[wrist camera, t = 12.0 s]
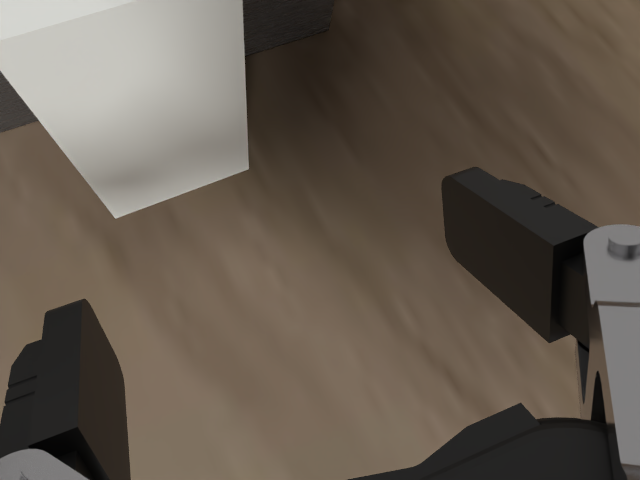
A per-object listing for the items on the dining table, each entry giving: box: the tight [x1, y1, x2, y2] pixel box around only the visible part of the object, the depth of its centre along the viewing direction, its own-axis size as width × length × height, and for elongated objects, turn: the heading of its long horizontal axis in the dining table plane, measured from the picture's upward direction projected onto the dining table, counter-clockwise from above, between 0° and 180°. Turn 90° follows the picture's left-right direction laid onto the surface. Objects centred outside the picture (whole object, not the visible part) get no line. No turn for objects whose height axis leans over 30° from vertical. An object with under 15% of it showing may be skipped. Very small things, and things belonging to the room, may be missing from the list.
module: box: [0, 0, 249, 219], centre depth 16 cm, size 5×4×10 cm
